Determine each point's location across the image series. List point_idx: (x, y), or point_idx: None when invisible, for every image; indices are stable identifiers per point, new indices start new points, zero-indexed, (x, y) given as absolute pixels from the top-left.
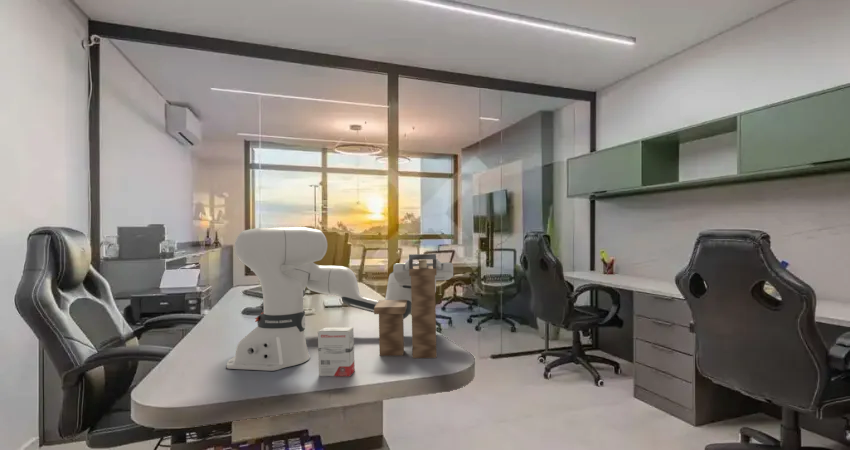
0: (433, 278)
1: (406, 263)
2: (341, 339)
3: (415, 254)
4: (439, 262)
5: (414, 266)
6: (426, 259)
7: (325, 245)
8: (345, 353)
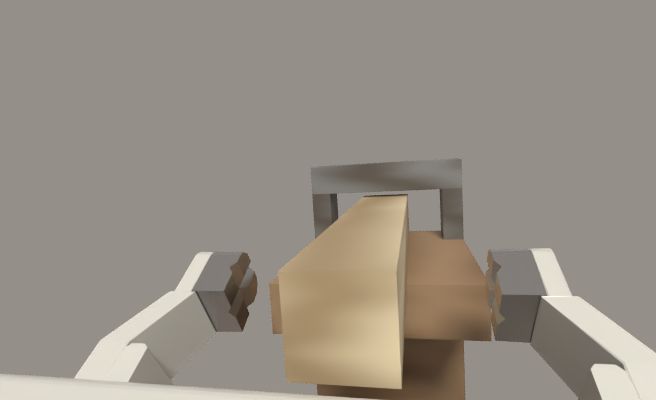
0: None
1: (616, 340)
2: None
3: (422, 160)
4: (147, 320)
5: (449, 280)
6: (356, 203)
7: None
8: None
